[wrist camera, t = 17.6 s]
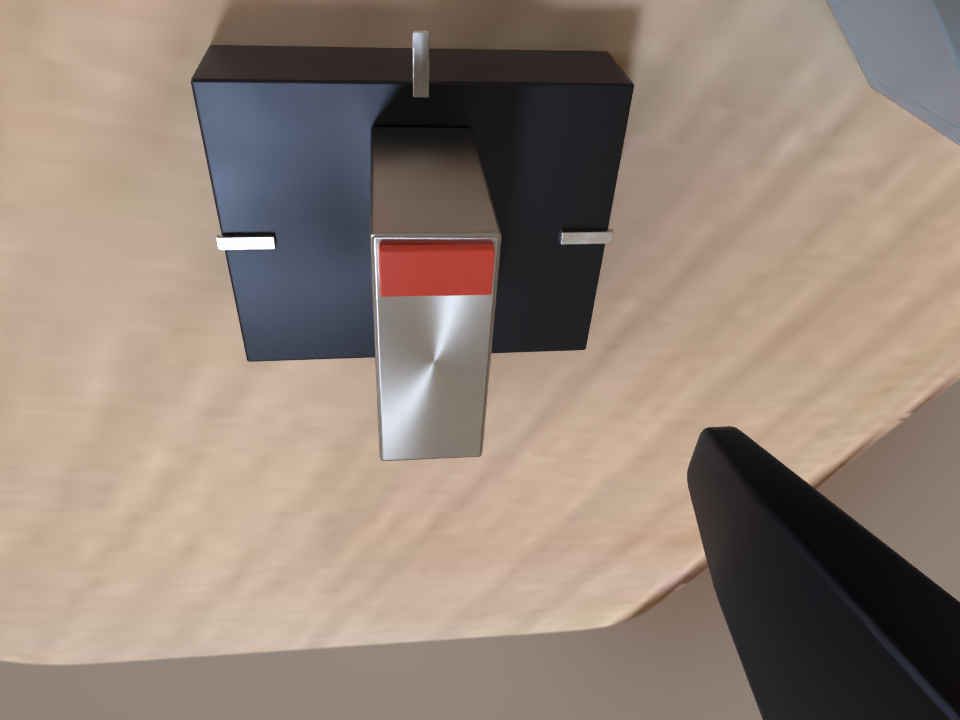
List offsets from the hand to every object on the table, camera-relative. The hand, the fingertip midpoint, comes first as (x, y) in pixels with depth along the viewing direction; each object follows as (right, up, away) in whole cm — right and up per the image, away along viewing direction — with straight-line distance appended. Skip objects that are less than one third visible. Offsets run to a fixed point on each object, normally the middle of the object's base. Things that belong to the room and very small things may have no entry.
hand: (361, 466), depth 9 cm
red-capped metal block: (0, +4, +10) cm, 11 cm away
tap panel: (0, +6, +12) cm, 13 cm away
